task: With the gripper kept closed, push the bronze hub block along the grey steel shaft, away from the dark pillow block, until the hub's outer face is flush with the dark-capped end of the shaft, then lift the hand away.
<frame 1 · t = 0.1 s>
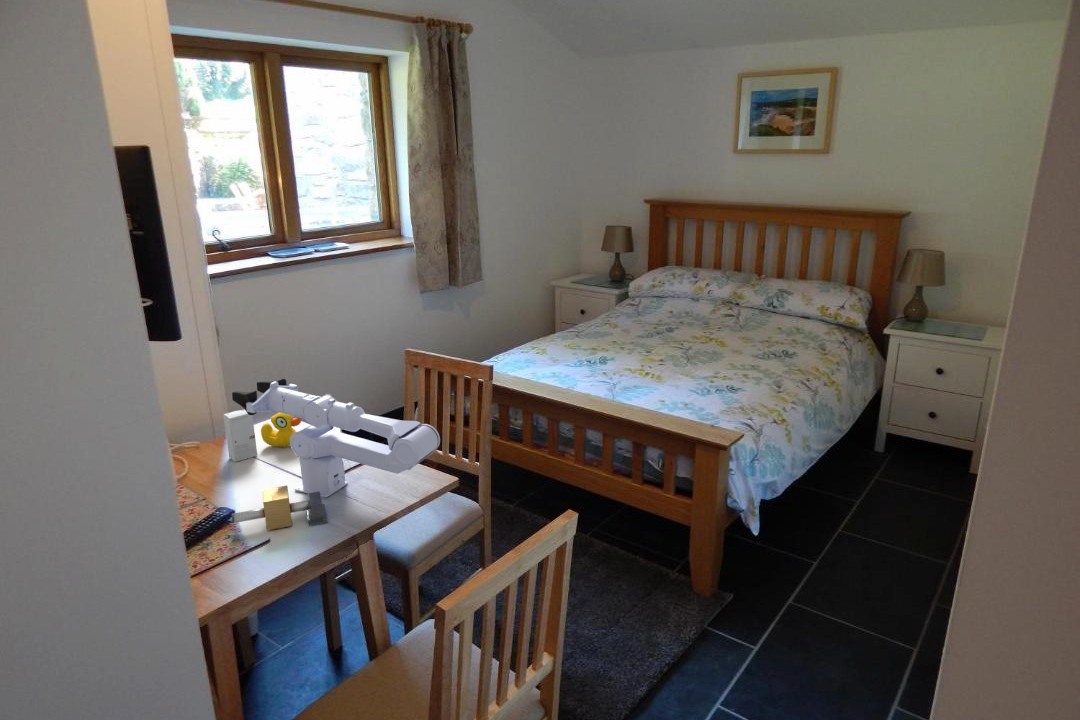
hand: (245, 390, 169), 22 cm above the table, tool horizontal, fingers open, 7 cm apart
duckling: (283, 447, 191), on the table
hub: (277, 507, 152), point 4 cm above the table, slide at 0.0 cm
shaft inner: (301, 518, 154), resting on pillow block
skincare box: (243, 457, 186), on the table
pillow block: (317, 516, 155), on the table
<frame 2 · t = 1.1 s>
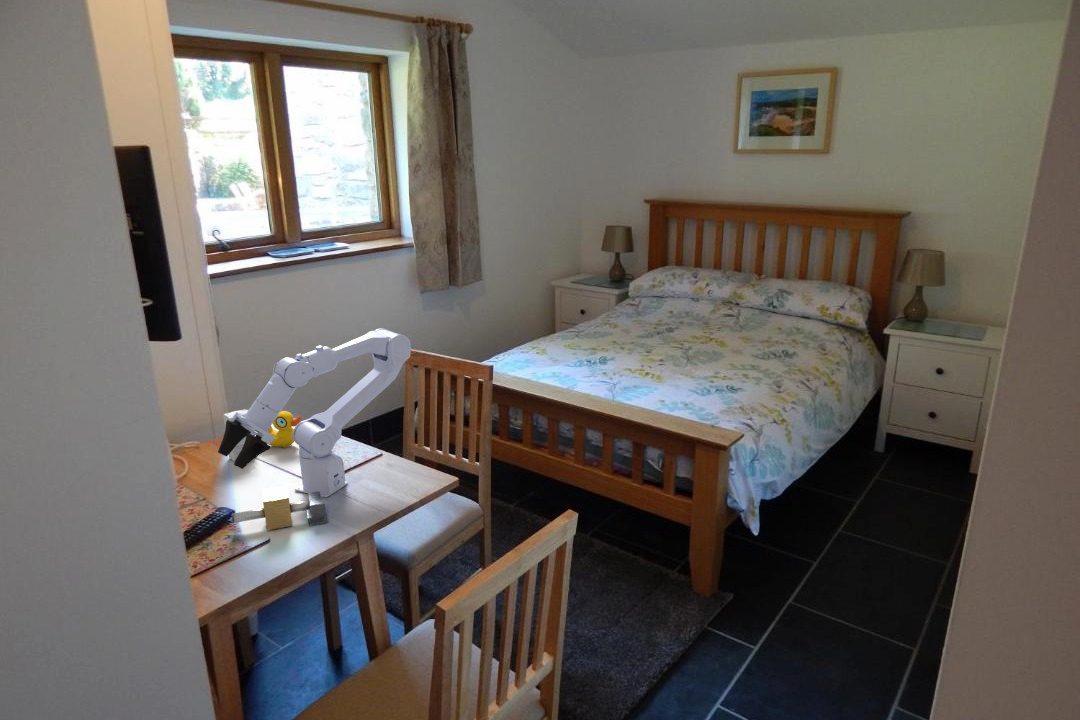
hand: (229, 460, 153), 13 cm above the table, tool tilted 45°, fingers open, 7 cm apart
nothing on the table moved.
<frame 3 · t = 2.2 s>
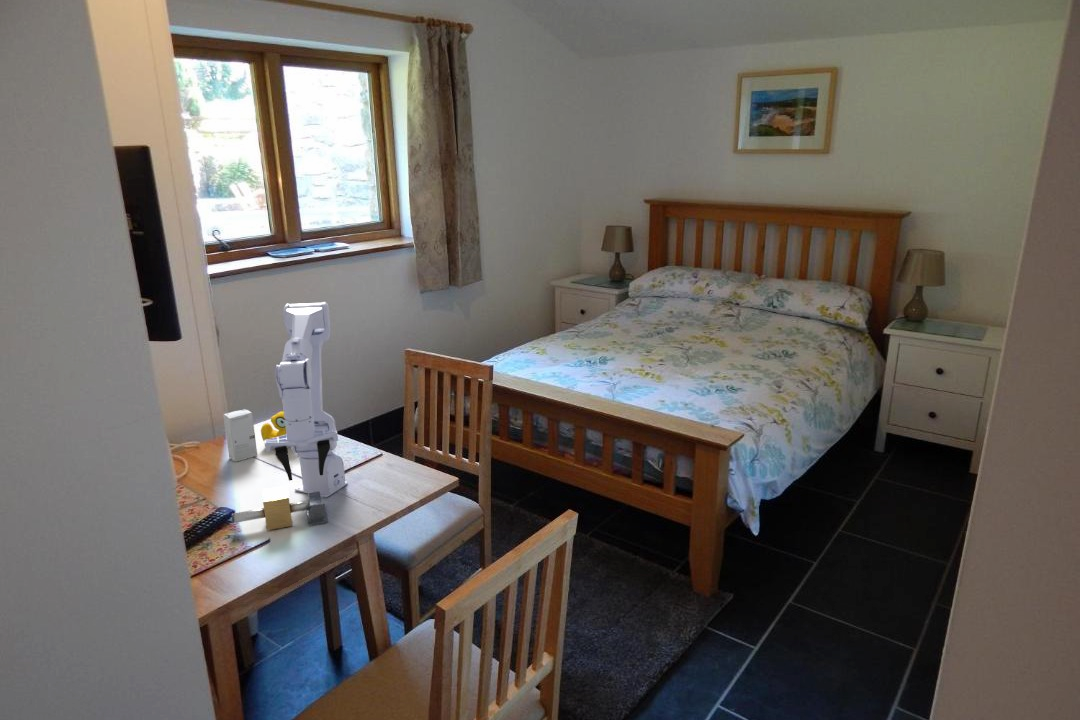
hand: (306, 475, 152), 10 cm above the table, tool pointing down, fingers open, 6 cm apart
nothing on the table moved.
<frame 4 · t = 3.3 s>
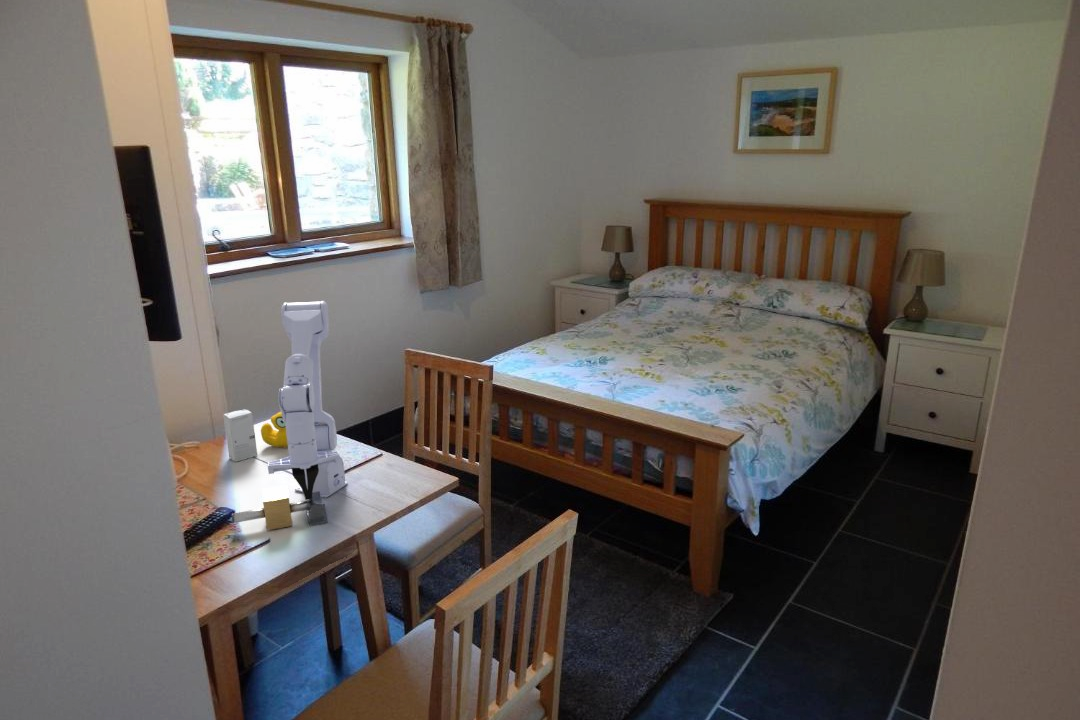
hand: (308, 497, 154), 5 cm above the table, tool pointing down, fingers closed
nothing on the table moved.
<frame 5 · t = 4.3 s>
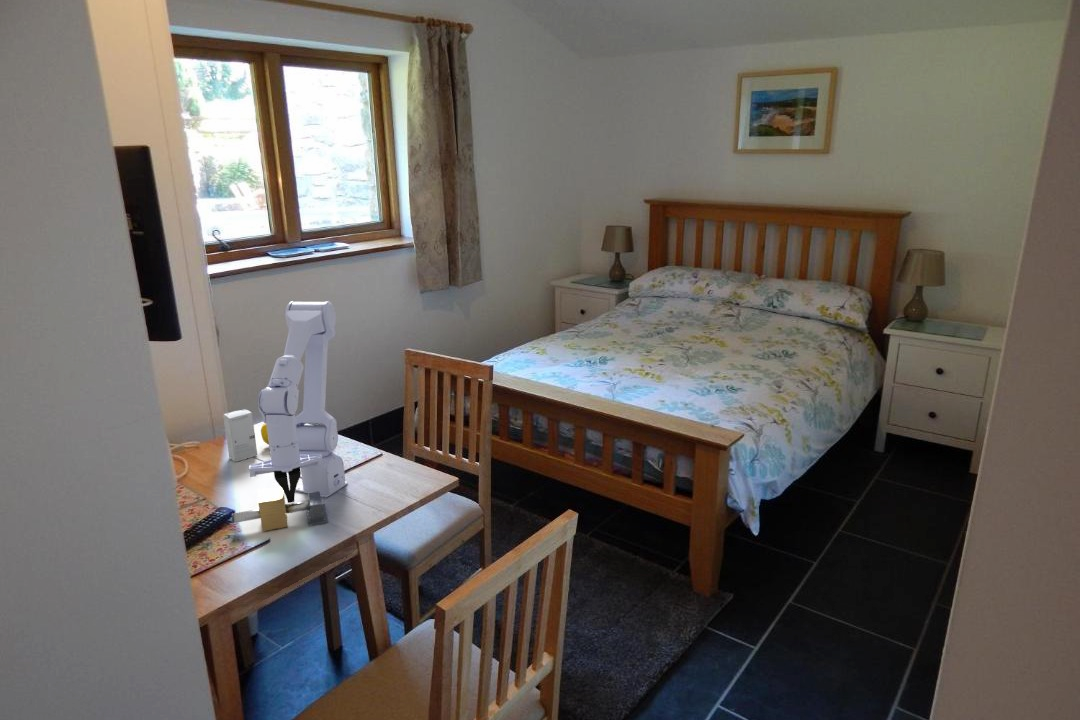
hand: (290, 500, 152), 5 cm above the table, tool pointing down, fingers closed
hub: (272, 508, 151), point 4 cm above the table, slide at 0.9 cm, touching gripper
everything else where it was.
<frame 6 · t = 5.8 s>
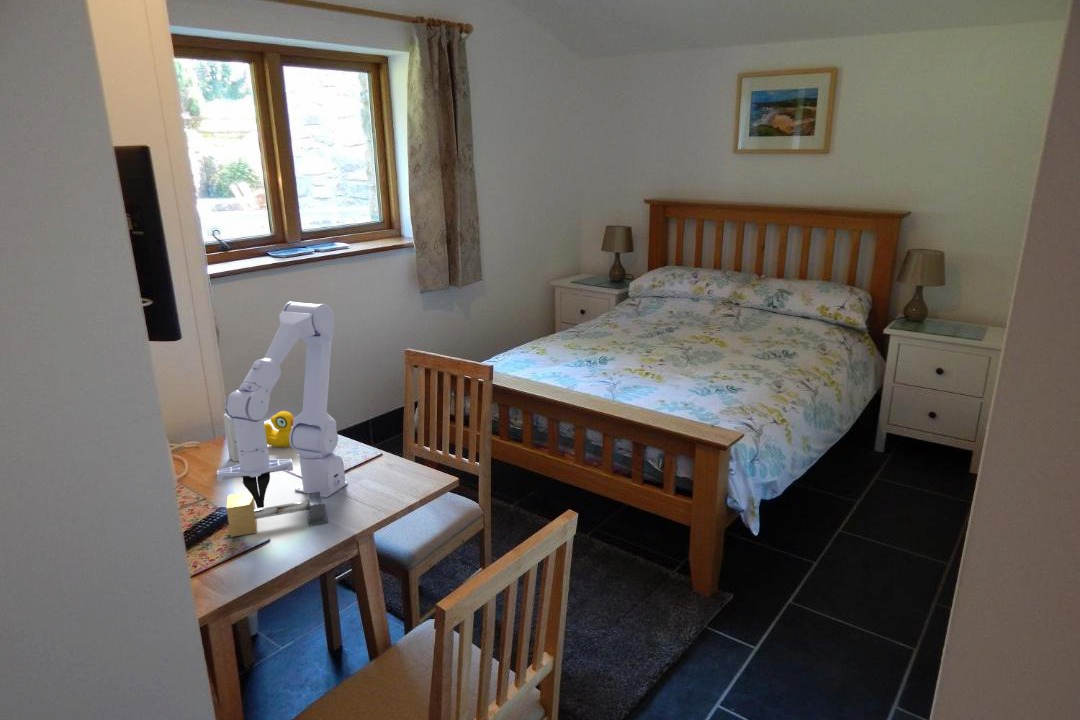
hand: (260, 505, 150), 5 cm above the table, tool pointing down, fingers closed
hub: (242, 513, 149), point 4 cm above the table, slide at 7.0 cm, touching gripper
everything else where it was.
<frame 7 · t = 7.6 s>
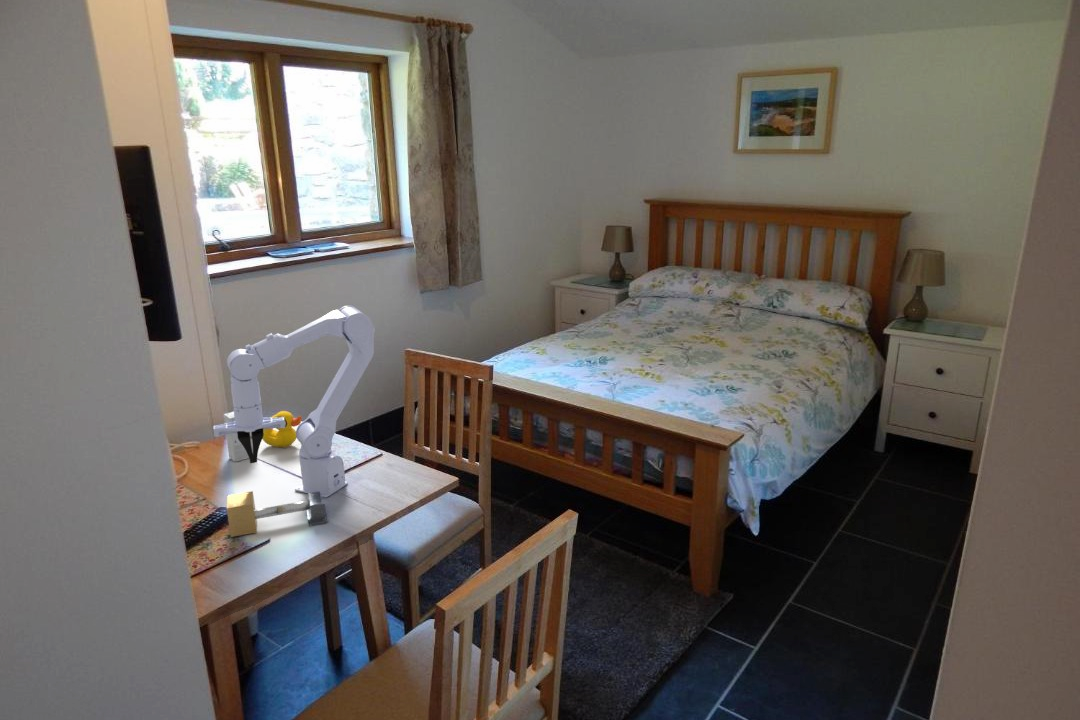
hand: (253, 461, 159), 10 cm above the table, tool pointing down, fingers closed
hub: (242, 513, 149), point 4 cm above the table, slide at 7.0 cm
everything else where it was.
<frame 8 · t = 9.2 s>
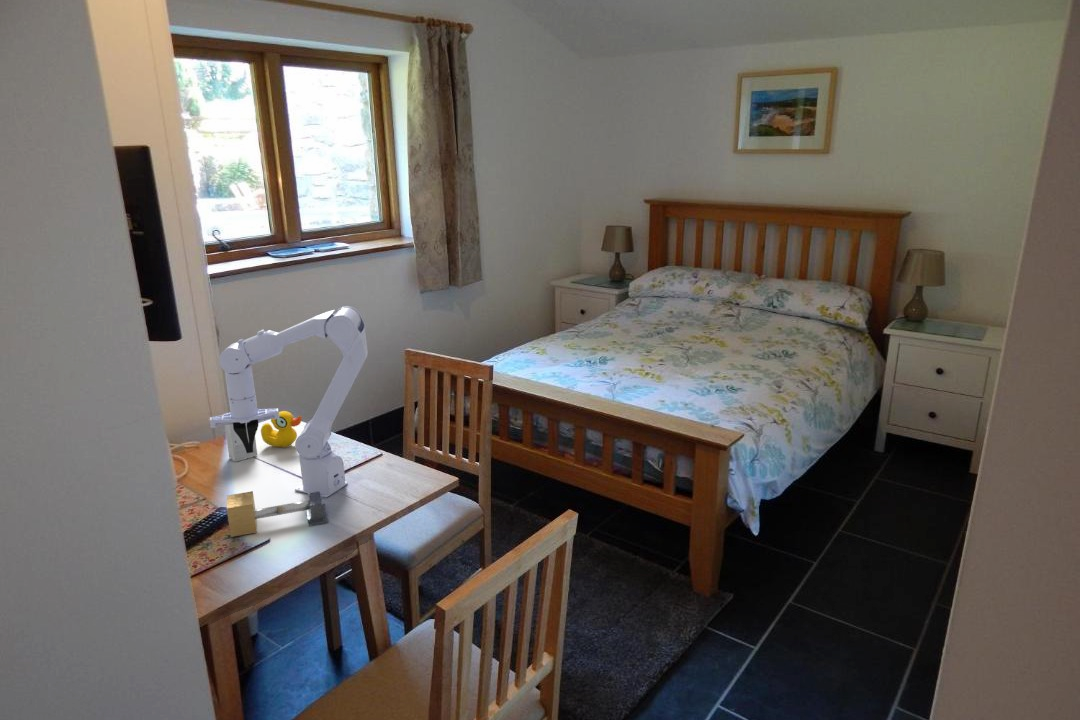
hand: (249, 451, 165), 10 cm above the table, tool pointing down, fingers closed
nothing on the table moved.
at the end: hub slide at 7.0 cm; the gripper is holding nothing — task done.
